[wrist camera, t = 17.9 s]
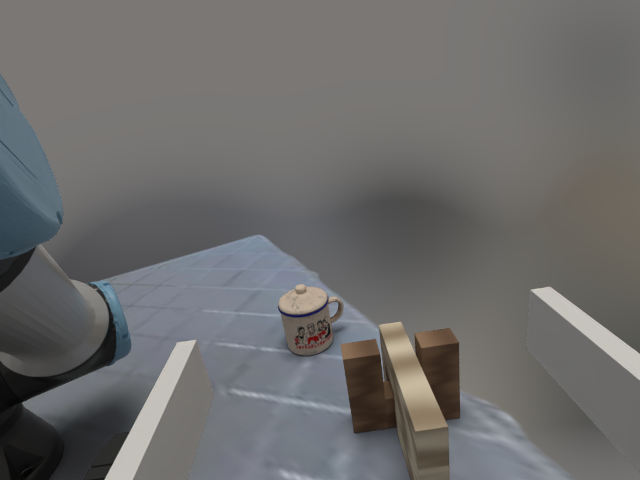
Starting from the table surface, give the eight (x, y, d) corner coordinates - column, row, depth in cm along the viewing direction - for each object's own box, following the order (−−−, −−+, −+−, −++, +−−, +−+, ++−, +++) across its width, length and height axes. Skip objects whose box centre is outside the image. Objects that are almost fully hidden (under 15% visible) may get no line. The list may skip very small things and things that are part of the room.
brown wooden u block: (354, 433, 48) (343, 359, 44) (351, 414, 51) (340, 344, 46) (459, 417, 48) (458, 342, 43) (451, 400, 50) (449, 328, 46)
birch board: (450, 513, 37) (448, 426, 33) (421, 517, 37) (415, 431, 33) (406, 390, 53) (400, 321, 49) (385, 393, 53) (378, 325, 49)
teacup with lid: (296, 364, 62) (283, 306, 58) (280, 337, 70) (268, 284, 66) (357, 339, 66) (349, 283, 62) (335, 316, 74) (327, 265, 70)
